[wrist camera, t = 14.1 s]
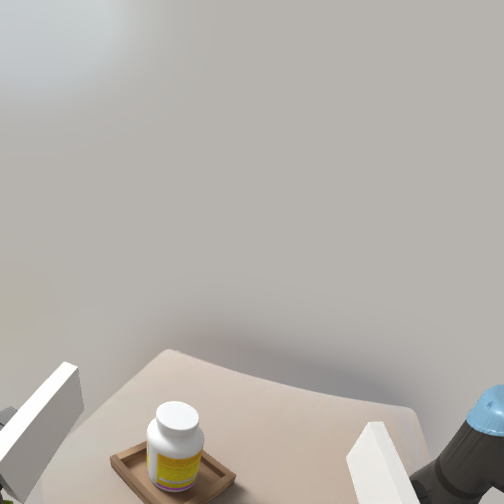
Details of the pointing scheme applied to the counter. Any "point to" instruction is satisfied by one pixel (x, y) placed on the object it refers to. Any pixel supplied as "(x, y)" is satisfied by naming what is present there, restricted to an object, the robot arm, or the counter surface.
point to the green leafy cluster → (7, 502)
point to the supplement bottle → (174, 447)
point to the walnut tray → (157, 500)
